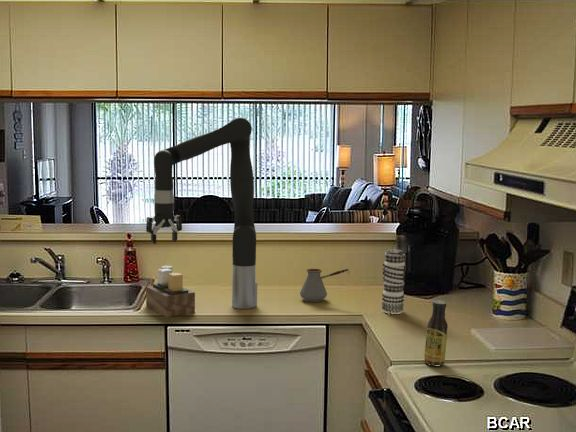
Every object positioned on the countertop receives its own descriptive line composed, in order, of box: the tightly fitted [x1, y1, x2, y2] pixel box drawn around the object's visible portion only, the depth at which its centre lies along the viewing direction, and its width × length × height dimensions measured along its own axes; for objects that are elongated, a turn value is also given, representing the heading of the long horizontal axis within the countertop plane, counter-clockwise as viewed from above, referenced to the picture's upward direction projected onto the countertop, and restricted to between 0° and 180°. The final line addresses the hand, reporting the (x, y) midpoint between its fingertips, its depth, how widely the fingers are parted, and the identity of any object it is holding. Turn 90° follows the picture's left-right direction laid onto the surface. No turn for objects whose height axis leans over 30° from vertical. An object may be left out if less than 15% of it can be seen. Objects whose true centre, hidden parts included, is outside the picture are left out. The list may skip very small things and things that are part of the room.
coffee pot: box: [299, 268, 351, 303], centre depth 279 cm, size 21×12×15 cm, turn 65°
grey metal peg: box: [157, 268, 173, 287], centre depth 264 cm, size 4×4×8 cm
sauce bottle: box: [423, 300, 449, 366], centre depth 206 cm, size 6×6×20 cm
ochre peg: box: [168, 272, 184, 291], centre depth 257 cm, size 4×4×8 cm
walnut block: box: [145, 282, 196, 318], centre depth 261 cm, size 12×18×9 cm, turn 36°
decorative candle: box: [381, 248, 407, 313], centre depth 264 cm, size 9×9×25 cm
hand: (164, 242), depth 262 cm, fingers open, 8 cm apart
